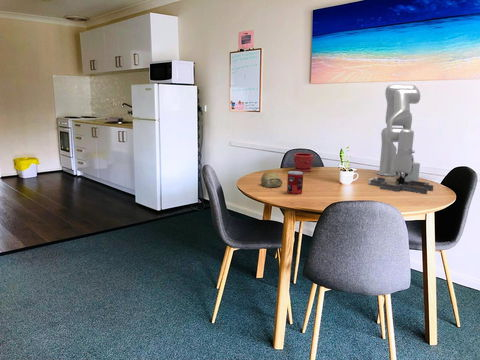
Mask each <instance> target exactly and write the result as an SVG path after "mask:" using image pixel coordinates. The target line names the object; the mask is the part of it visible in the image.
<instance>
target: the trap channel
mask: <svg viewBox="0 0 480 360" xmlns="http://www.w3.org/2000/svg"><path fill="white" fill-rule="evenodd" d="M385 178H386V177H380V176H379V177H378V176H375V177H373V178H369V179H368V185H370V186H376V187H379V189H380V190H381V189H382V190H387V191H391V190H392V191H393V192H397V191H398V192H400V191H407V192H411V193H416V194H417V193H418V194H423V195H424V194H425V195H427V194H428V192H433V191H434V185H433V184H432V185H431V184H430V183H429V182H424V181H423V182H422V181H420V180H418V181H412V180H411V181H408V182H406V181H405V182H404V184H399V185H397V186H396V185H390V184H387V182H385Z"/></svg>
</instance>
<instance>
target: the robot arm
mask: <svg viewBox="0 0 480 360" xmlns="http://www.w3.org/2000/svg"><path fill="white" fill-rule="evenodd" d="M384 94H385V95H384V96H385V99H386V111H385V124H386V127H385V128H383V129H382V130H381V134H380V136H381V148H380V159H379V160H380V161H379V169H378V171H376V174H377V175H379V176H385V177H386V176H387V177H396V176H397V178H399V179H398V182H399V184H404V182H405V177H406V176H408V175H412V172H413V168H414V162H415V159H414V154H415V153H416V152H415V150H413V148H414V147H413V146H414V145H413V144H414V135H415V134H414V132H415V131H414V130H413V129H412V123H413V114H412V112H411V107H410V106H411V105H410V104H412V105H413V104H414V105H415V104H418V103H419V102H420V101H421V93H420V89H419V87H417V86H416V85H415V84H391V85H387V87H386V88H385V93H384ZM393 126H394V127H393ZM394 143H397V146H396V145H395V144H394Z"/></svg>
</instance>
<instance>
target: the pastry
mask: <svg viewBox="0 0 480 360" xmlns="http://www.w3.org/2000/svg"><path fill="white" fill-rule="evenodd" d="M260 183H261V185H262V186H263V187H265V188H267V189H269V188H276V187H278V188H279V187H282V185H283V180H282V178H281V177H280V176H279V174H278V173H276V172H273V171H266V172H264V173H263V174H262V176H261V178H260Z"/></svg>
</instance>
